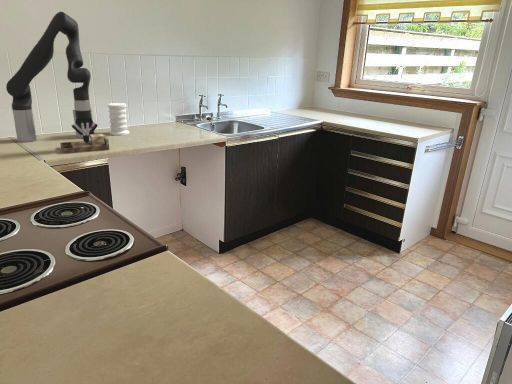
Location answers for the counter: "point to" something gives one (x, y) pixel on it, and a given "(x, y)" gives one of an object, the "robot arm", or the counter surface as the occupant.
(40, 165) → the counter surface
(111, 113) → the decorative container
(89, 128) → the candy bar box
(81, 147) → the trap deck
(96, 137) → the maple block
